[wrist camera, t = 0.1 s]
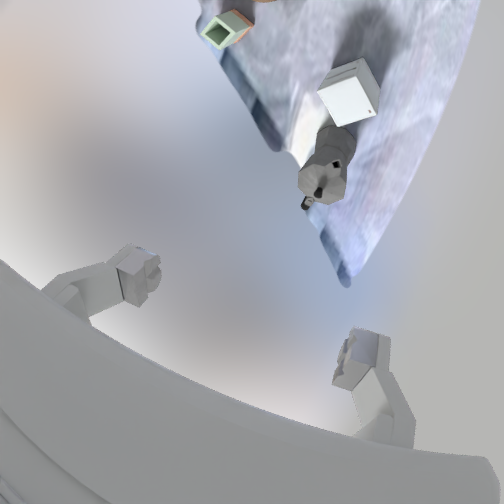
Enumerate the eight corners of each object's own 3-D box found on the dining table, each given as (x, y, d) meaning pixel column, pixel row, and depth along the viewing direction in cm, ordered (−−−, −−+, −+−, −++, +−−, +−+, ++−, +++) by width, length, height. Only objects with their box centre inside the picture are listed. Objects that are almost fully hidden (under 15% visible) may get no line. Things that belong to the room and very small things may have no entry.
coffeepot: (330, 110, 55) (310, 156, 45) (370, 134, 55) (360, 187, 46) (300, 158, 68) (275, 210, 58) (335, 179, 68) (317, 234, 59)
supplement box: (363, 55, 43) (357, 74, 36) (381, 89, 47) (378, 116, 40) (329, 68, 48) (315, 90, 41) (347, 100, 52) (337, 128, 45)
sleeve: (235, 8, 43) (215, 14, 39) (255, 25, 45) (237, 32, 41) (219, 25, 47) (198, 34, 43) (238, 41, 49) (219, 51, 45)
